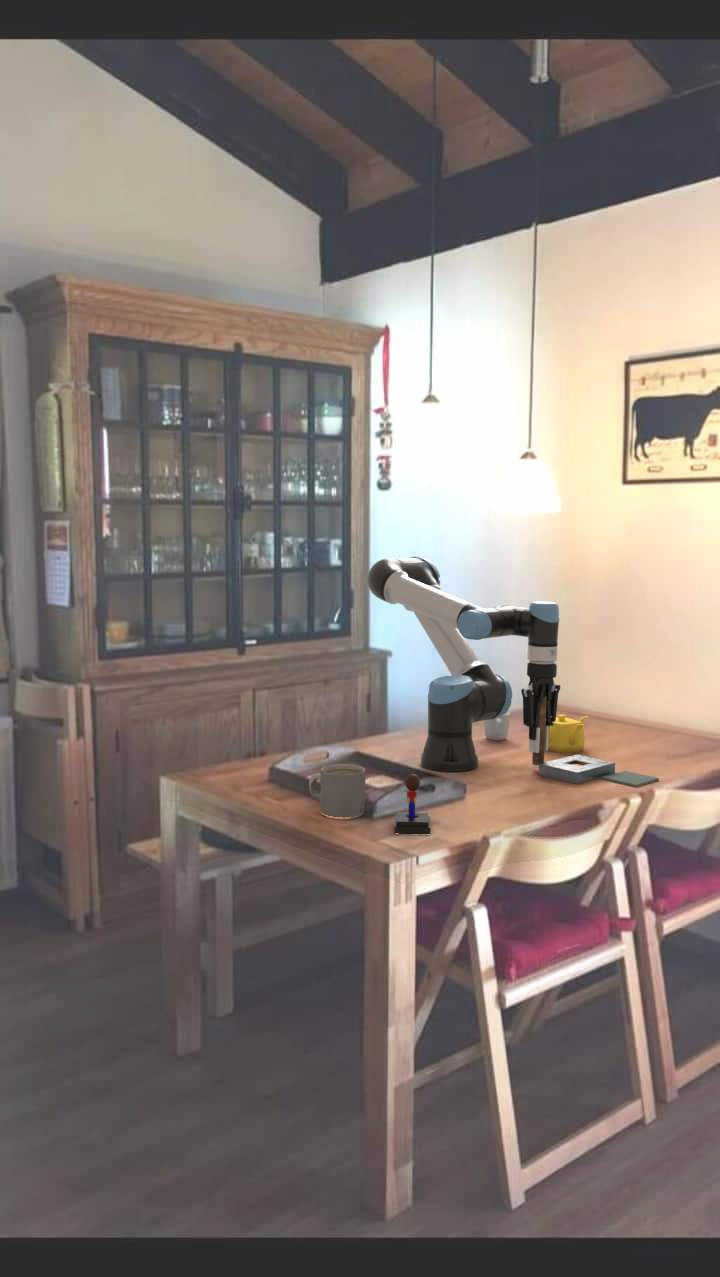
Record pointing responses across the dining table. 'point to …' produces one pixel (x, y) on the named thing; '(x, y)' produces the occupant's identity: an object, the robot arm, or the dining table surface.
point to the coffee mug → (339, 789)
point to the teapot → (566, 735)
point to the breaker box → (576, 769)
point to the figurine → (412, 812)
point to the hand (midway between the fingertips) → (538, 750)
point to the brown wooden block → (541, 735)
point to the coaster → (630, 778)
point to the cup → (497, 727)
